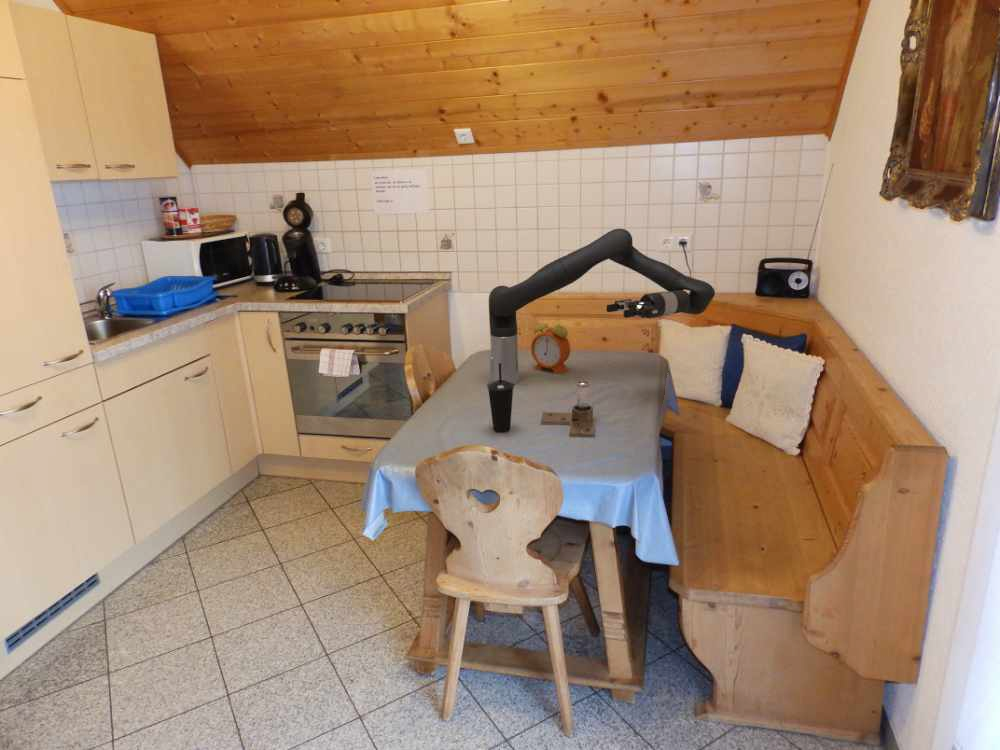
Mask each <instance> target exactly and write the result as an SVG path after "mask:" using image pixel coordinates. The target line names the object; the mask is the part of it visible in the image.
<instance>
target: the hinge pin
mask: <svg viewBox="0 0 1000 750" xmlns="http://www.w3.org/2000/svg"><path fill="white" fill-rule="evenodd" d="M575 383H576V384H575V385H576V386H577V388H576V389H577V391H576V392H577V393H576V395H577V397H576V401H577V402H576V403H577V404H576V405H577V410H579V411H587V410H588V405H589V386H590V381H589V380H586V379H585V380H584V379H580V380H576V382H575Z"/></svg>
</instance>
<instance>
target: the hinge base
mask: <svg viewBox="0 0 1000 750" xmlns="http://www.w3.org/2000/svg"><path fill="white" fill-rule="evenodd" d="M571 407H572V408H571V412H553V411H552V412H547V411H543V412H542V414H541V418H540V425H556V426H557V425H559V426H560V425H561V426H562V425H564V426H569V437H571V438H595V437H596V434H595V433H596V431H595V429H596V426H595V423H596V422H595V421H593V420H594V406H592V405H589V404H588V410H587V411H579V410H577V404H575V405H573V406H571Z"/></svg>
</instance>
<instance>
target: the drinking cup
mask: <svg viewBox="0 0 1000 750" xmlns="http://www.w3.org/2000/svg"><path fill="white" fill-rule="evenodd" d="M486 388H487V390H488V396H489V397H488V398H489V405H490V411H491V412H490V413H491V420H492V421H491V422H492V427H493V431H494V432H495V433H497V434H498V433H499V434H503V433H507V432H510V431H511V422H512V412H513V411H512V408H513V398H514V397H513V395H514V394H513V393H514V388H515V384H513V383H512V382H509V381H506V380H502V376H501V363H499V380H496V381H493V382H491V381H490V382H489V383H488V384H487V385H486ZM509 430H510V431H509Z"/></svg>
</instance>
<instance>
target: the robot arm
mask: <svg viewBox="0 0 1000 750" xmlns="http://www.w3.org/2000/svg"><path fill="white" fill-rule="evenodd" d="M607 260H610V261H611V262H614V263H616V264H618V265H621V266H623V267H626V268H628V269H630V270H632V271H633V272H636V273H638V274H640V275H641V276H643V277H645V278H646V279H648V280H650V281H651V282H653V283H655V284H657V285H658V286H659V287H661V288H662V289H664V290H666V291H659V292H652V293H651V292H650V293H644V295H642V296H641V298H640V299H639V300H638V299H634V300H632V299H631V298H629V299H620V300H614V303H611V304H606V312H607V313H613V312H623V318H626V319H627V318H634V317H636V318H642V319H654V318H661V317H666V316H670V315H674V314H679V313H683V314H690V315H694V316H695V315H696V316H697V315H700V314H702V313H704V312H705V311H706V310H707V308H708V307H709V305H710V304H711V302H712V300H713V299H714V297H715V295H716V292H715V289H714V287H713V286H712V285H711V284H710V283H709V282H707V281H704V280H700V279H696V278H695V277H694V278H693V277H691V276H688V275H686V274H683V273H682V272H681V271H679V270H678V269H676V268H674V267H672V266H670V265H669V264H666V263H665V262H663V261H659V260H656V259H654V258H651V257H649V256H647V255H645V254H643V253H642V252H641V251H639V250H638V249H637V248H636V247H635V246H634V245H633V236H632V234H631V232H630V231H628V230H627V229H625V228H615V229H612V230H610V231H608V232H606V233H604V234H603V235H602V236H599V237H598V238H596V240H593V241H592V242H590V243H589V244H587V245H585V246H582V247H581V248H578V249H576V250H574V251H572V252H570V253H568V254H566V255H563V256H562V257H559V258H557V259H555V260H553V261H551V262H549V263H547V264H545V265H544V266H542V267H541V268H540V269H538V270H537V271H535V272H534V273H533V274H532V275H531V276H529V277H528V278H527V279H525V280H523V281H521V282H519V283H516V284H515V285H512V286H510V287H509V286H506V285H499V286H495V287H494V288H492V290H491V291H490V293H489V296H488V315H489V318H488V319H489V334H490V335H489V336H490V338H489V339H490V357H489V363H490V364H489V366H490V371H489V372H490V383H491V382H493V381H496V380H499V363H501V376H502V380H506V381H509V382H512V383H513V384H514V385H517V384H518V382H519V351H518V350H519V349H518V348H519V345H518V344H519V343H518V323H517V321H518V320H517V311H520V309H521V308H524V307H525V306H527V305H528V304H531V303H532V302H534V301H536V300H538V299H540V298H543V297H546V296H547V295H550V294H552V293H554V292H557V291H559V290H561V289H563V288H565V287H567V286H569V285H571V284H573V283H575V282H577V281H578V280H579V279H580V278H582V277H583V276H584V275H585V274H587V273H588V272H589V271H590V270H591V269H592V268H594V267H596V266H597V265H599V264H600V263H603V262H604V261H607ZM687 291H690V292H689V293H688V292H687Z"/></svg>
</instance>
